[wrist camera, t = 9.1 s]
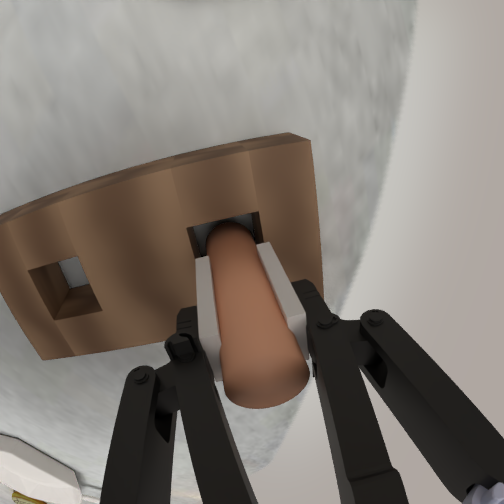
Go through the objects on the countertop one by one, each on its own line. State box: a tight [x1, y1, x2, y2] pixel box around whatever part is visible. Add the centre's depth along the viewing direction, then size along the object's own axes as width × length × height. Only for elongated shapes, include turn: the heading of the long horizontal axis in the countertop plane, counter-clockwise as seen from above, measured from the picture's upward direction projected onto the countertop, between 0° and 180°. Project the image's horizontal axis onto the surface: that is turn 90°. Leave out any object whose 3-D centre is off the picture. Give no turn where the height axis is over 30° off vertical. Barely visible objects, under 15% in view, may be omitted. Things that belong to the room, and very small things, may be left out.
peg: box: [206, 222, 310, 409], centre depth 16 cm, size 3×3×12 cm
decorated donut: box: [12, 491, 46, 504], centre depth 46 cm, size 10×11×4 cm
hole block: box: [0, 133, 324, 360], centre depth 22 cm, size 24×12×4 cm, turn 100°
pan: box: [0, 434, 100, 504], centre depth 38 cm, size 28×41×4 cm
